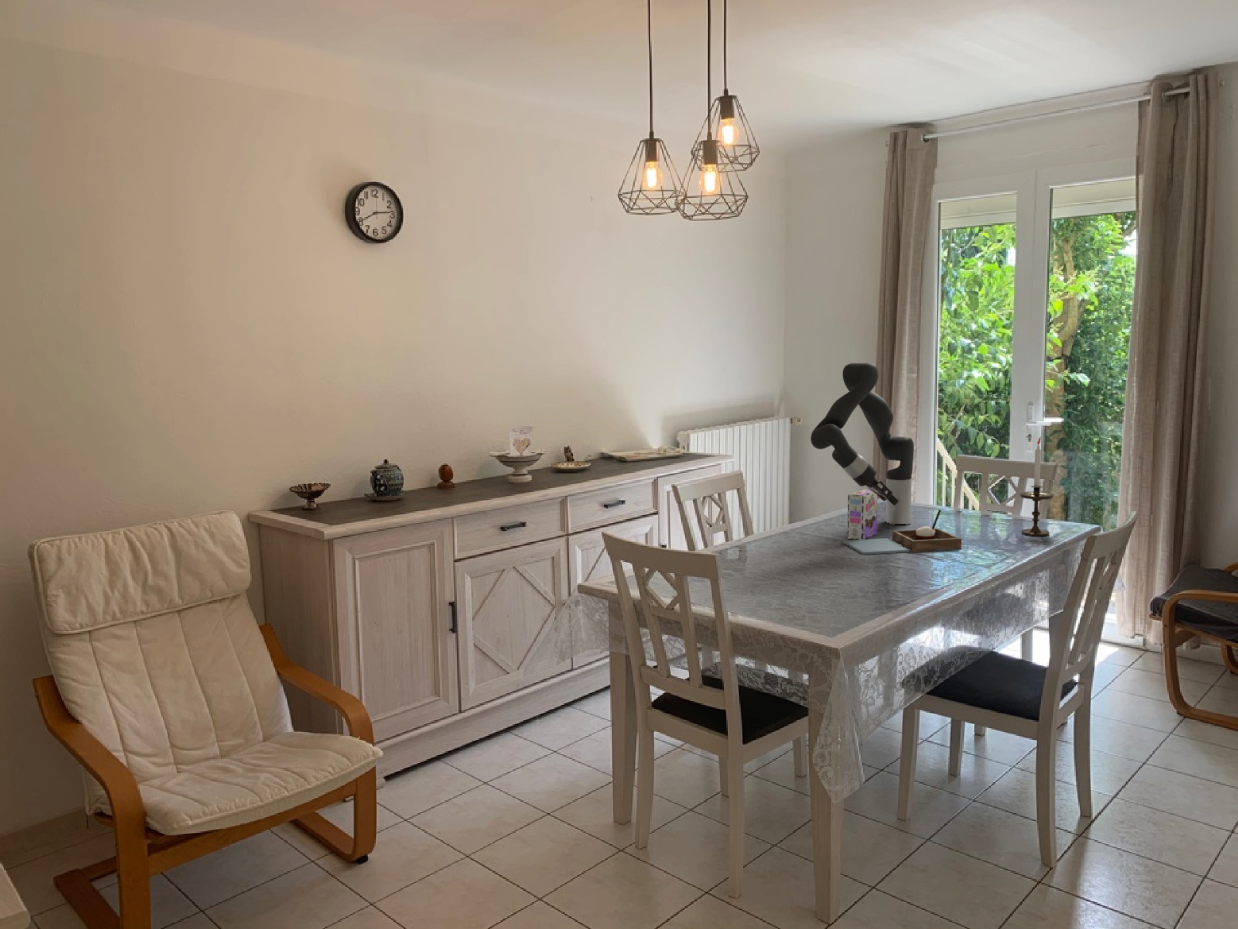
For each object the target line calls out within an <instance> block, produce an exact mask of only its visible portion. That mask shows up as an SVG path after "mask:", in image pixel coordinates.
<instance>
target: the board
mask: <svg viewBox="0 0 1238 929" xmlns="http://www.w3.org/2000/svg"><path fill="white" fill-rule="evenodd" d="M843 544H844V545H846V544H848V545H849V546H848V545H847V546H848V547H850V548H851V549H853V548H854V549H855V551H857V552H858V551H859V552H860V554H861V555H862V556H863V555H878V554H879V555H880V554H894V553H895V554H896V552H897V553H898V552H901V553H909V552H910V550H909V549H907V548H905V547H903V546H901V545H900V544H898V543H896V542H894V541H892V539H890V538H888V537H886V538H885V537H884V538H867V539H865V540H852V539H848V540H843ZM854 549H853V550H854ZM859 552H858V553H859Z"/></svg>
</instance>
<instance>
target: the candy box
mask: <svg viewBox="0 0 1238 929" xmlns="http://www.w3.org/2000/svg"><path fill="white" fill-rule="evenodd" d="M847 495H848V496H847V539H848V540H852V539H854V540H865V539H866V538H867V539H869V538H871V536H872V537H874V536H875V535H874V534H876V535H877V534H878V495H877V494H874V492H871V490H870V489H869V488H867V489H866V488H865V489H864V488H863V489H861V490H860V489H859V490H858V491H855V492H852V493H848V494H847ZM873 535H874V536H873ZM868 537H869V538H868Z"/></svg>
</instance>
